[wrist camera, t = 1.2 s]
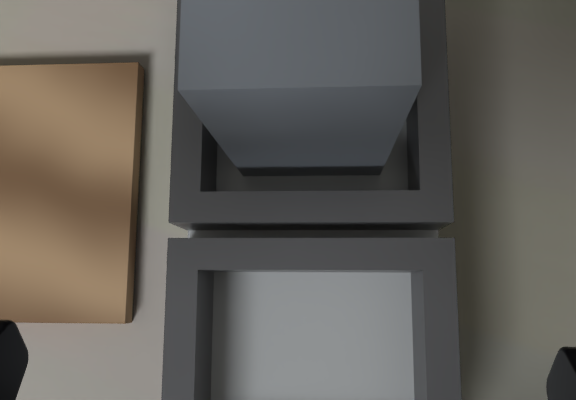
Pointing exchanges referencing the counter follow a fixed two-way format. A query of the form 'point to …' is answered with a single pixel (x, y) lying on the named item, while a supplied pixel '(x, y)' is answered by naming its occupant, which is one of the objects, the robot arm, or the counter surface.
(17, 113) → the walnut board
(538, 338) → the counter surface
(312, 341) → the power strip
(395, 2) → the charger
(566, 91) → the counter surface
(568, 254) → the counter surface
